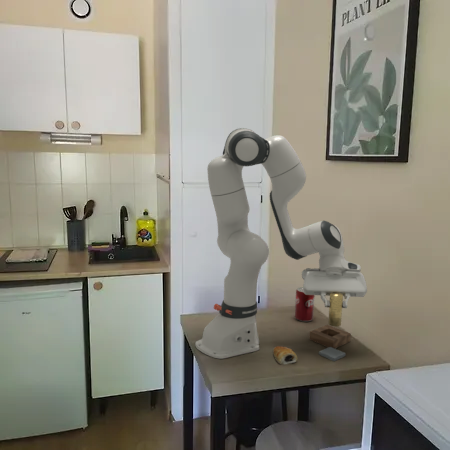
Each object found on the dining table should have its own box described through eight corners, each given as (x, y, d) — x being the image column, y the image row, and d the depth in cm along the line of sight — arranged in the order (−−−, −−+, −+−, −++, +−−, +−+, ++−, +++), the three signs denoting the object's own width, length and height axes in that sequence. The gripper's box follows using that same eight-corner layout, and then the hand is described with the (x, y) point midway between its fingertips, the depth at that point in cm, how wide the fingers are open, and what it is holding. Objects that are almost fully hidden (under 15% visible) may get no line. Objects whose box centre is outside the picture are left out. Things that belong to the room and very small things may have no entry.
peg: (336, 327, 139) (338, 297, 138) (325, 323, 142) (327, 293, 141) (343, 324, 142) (345, 294, 140) (333, 320, 145) (334, 291, 143)
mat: (334, 361, 139) (334, 358, 139) (318, 354, 144) (319, 351, 144) (345, 356, 143) (345, 353, 143) (329, 349, 148) (330, 346, 148)
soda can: (291, 319, 173) (293, 290, 172) (297, 314, 180) (299, 285, 178) (309, 323, 170) (311, 293, 168) (315, 317, 177) (317, 288, 175)
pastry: (268, 352, 145) (268, 341, 144) (287, 351, 147) (287, 340, 146) (279, 366, 136) (280, 354, 135) (299, 363, 138) (300, 352, 137)
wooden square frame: (333, 349, 148) (333, 340, 148) (309, 339, 155) (309, 331, 155) (350, 341, 154) (350, 333, 154) (326, 332, 162) (327, 324, 161)
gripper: (302, 263, 147) (304, 301, 139) (365, 265, 145) (370, 304, 137) (300, 272, 152) (302, 309, 144) (361, 274, 150) (366, 312, 142)
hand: (336, 307), depth 140 cm, fingers closed on peg, 4 cm apart
